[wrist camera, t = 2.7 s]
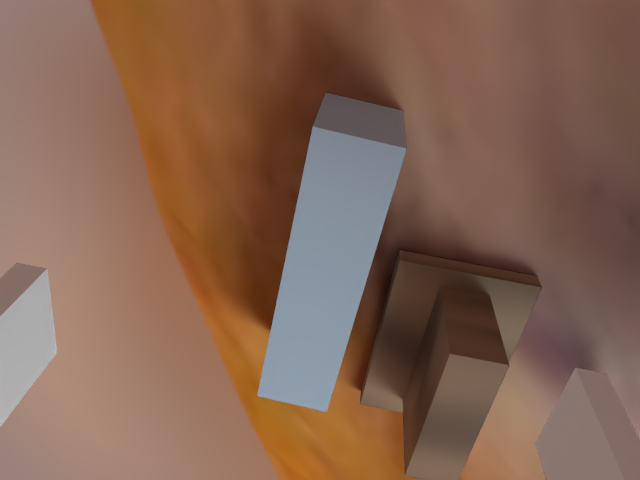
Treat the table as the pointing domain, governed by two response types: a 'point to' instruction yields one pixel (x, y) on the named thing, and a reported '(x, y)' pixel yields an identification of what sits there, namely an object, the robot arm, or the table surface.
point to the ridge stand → (445, 354)
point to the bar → (331, 246)
